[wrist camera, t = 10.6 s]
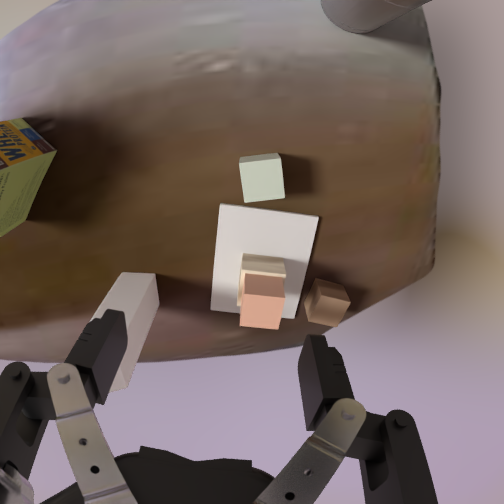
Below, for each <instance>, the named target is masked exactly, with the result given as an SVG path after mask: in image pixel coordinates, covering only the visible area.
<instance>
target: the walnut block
mask: <svg viewBox="0 0 504 504" xmlns="http://www.w3.org/2000/svg"><path fill="white" fill-rule="evenodd" d="M350 303H351V302H350V299H349V297H348V295H347V293H346V291H345V289H344V286H343V285H340V284H337V283H333V282H329V281H326V280H322V279H318V278H315V280H314V282H313V285H312V287H311V289H310V291H309V293H308V295H307V297H306V299H305V302H304V305H305V309H306V313H307V317H308V321H310V322H314V323H319V324H324V325H328V326H333V327H337V326H338V324H339V323H340V321H341V319H342V317H343V316H344V314H345V312H346V310H347V308H348V307H349V305H350Z"/></svg>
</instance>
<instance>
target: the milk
mask: <svg viewBox="0 0 504 504" xmlns="http://www.w3.org/2000/svg"><path fill="white" fill-rule="evenodd" d="M159 304H160V303H159V297H158V290H157V283H156V276H155V274H153V273H130V272H122V273H121V275H120V276H119V278H118V279H117V280H116V282H115V283H114V285H113V286H112V288H111V289H110V291H109V292H108V294H107V295H106V297H105V298H104V300H103V302H102V303H101V305H100V306H99V308H98V309H97V311H96V312H95V314H94V316H93V317H92V319H91V320H90V321H92V320H93V319H94V318H100V319H101V317H102V316H103V314H104V312H105V311H106V310H107V309H113V310H118V311H123V312H124V314H125V321H126V328H127V335H128V345H127V349H126V352H125V354H124V357H123V359H122V361H121V364H120V366H119V368H118V371H117V373H116V376H115V378H114V381H113V383H112V386H111V388H110V391H109V393H110V392H113V391H117V390H121V389H124V388H127V387H128V385H129V382H130V379H131V376H132V373H133V371H134V368H135V365H136V363H137V360H138V357H139V355H140V352H141V350H142V347H143V344H144V342H145V339H146V337H147V334H148V331H149V329H150V326H151V324H152V321H153V319H154V316H155V314H156V311H157V309H158V307H159Z"/></svg>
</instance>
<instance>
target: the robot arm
mask: <svg viewBox="0 0 504 504" xmlns="http://www.w3.org/2000/svg"><path fill="white" fill-rule="evenodd" d="M429 1H432V0H321V5H322V8H323V10H324V12H325V14H326V15H327V17H328V18H329V19H330V20H331V21H332V22H333V23H334V24H336V25H337V26H338V27H340V28H342V29H344V30H346V31H349V32H353V33H367V32H370V31H373V30H375V29H377V28H378V27H380V26H382V25H384V24H386V23H388V22H390V21H392V20H393V19H395V18H397V17H399V16H401V15H403V14H405V13H407V12H409V11H411V10H413V9H415V8H417V7H419V6H421V5H423V4H425V3H427V2H429ZM127 345H128V335H127V328H126V321H125V314H124V312H123V311H118V310H113V309H107V310H106V311H105V312H104V314H103V316H102V317H101V319H100V318H94V319H93V320H92V321H90V322H89V323H88V324H87V325H86V327H85V328H84V330H83V332H82V333H81V335H80V336H79V338H78V340H77V341H76V343H75V345H74V346H73V348H72V350H71V352H70V353H69V355H68V357H67V358H66V360H65V362H64V363H60V364H57V365H55V366H53V367H52V368H51V369H50V370H49V372H31V371H30V369H29V367H28V366H27V365H26V364H25V363H23V362H13V363H10V364H9V365H7V366H6V367H5V369H4V370H3V372H2V373H1V375H0V504H34V499H33V497H34V491H33V487H32V485H31V484H30V482H29V481H28V478H29V476H30V473H31V469H32V466H33V463H34V460H35V457H36V454H37V451H38V448H39V445H40V442H41V440H42V437H43V434H44V432H45V429H46V426H47V424H48V421H49V420H56V424H57V428H58V431H59V434H60V437H61V440H62V443H63V446H64V449H65V452H66V455H67V458H68V460H69V463H70V465H71V468H72V471H73V473H74V476H75V478H76V481H77V482H75V483H74V484H72V485H71V486H69V487H68V488H66V489H64V490H63V491H61V492H59V493H57V494H56V495H54V496H52V497H50V498H49V499H47V500H45V501H43V502H42V503H40V504H313V503H314V502H315V501H316V499H317V498H318V496H319V495H320V494H321V492H322V491H323V489H324V488H325V486H326V485H327V483H328V482H329V481H330V479H331V478H332V476H333V475H334V473H335V472H336V470H337V469H338V467H339V465H340V464H341V462H342V461H343V459H344V457H345V456H346V457H351V458H356V459H359V462H360V469H361V475H362V481H363V489H364V496H365V503H366V504H438V501H437V497H436V493H435V489H434V485H433V481H432V477H431V474H430V470H429V466H428V463H427V460H426V456H425V453H424V449H423V446H422V443H421V440H420V436H419V433H418V430H417V427H416V424H415V421H414V419H413V417H412V416H411V415H410V414H409V413H407V412H405V411H403V410H392V411H390V412H389V413H388V414H387V415H386V416H383V415H378V414H373V413H369V412H367V411H366V410H365V408H364V407H363V405H362V404H361V403H359V402H358V401H356V400H355V398H354V395H353V392H352V389H351V385H350V382H349V378H348V375H347V373H346V368H345V366H344V362H343V359H342V356H341V354H340V353H339V352H338V351H337V349H336V348H335V347H328V344H327V341H326V338H325V336H324V335H311V334H308V335H307V336H306V339H305V342H304V345H303V348H302V351H301V354H300V357H299V361H298V375H299V382H300V388H301V395H302V402H303V409H304V416H305V423H306V430H307V431H315V432H314V433H313V434H312V436H311V437H309V438H308V439H307V440H306V442H305V443H304V444H303V445H302V447H301V448H300V449H299V450H298V451H297V453H296V454H295V455H294V456H293V458H292V459H291V460H290V461H289V463H288V464H287V465H286V466H285V467H284V468H283V470H282V471H281V472H280V473H279V474H278V475H277V477H276V478H274V477H273V476H272V475H270V474H268V473H266V472H264V471H262V470H260V469H257V468H254V467H252V460H238V459H226V458H223V459H214V460H205V461H192V460H189V459H187V458H184V457H181V456H179V455H176V454H174V453H171V452H169V451H166V450H160V449H155V448H150V447H145V446H140V451H139V452H133V453H127V454H123V455H120V456H117V457H115V458H114V456H113V454H112V452H111V450H110V448H109V446H108V443H107V441H106V439H105V437H104V435H103V432H102V430H101V428H100V426H99V423H98V421H97V418H96V416H95V413H94V411H93V408H94V406H95V403H98V404H102V405H104V404H105V401H106V398H107V396H108V393H109V391H110V388H111V386H112V383H113V381H114V378H115V376H116V373H117V371H118V368H119V366H120V364H121V361H122V359H123V357H124V354H125V352H126V349H127Z"/></svg>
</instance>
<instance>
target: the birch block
mask: <svg viewBox="0 0 504 504" xmlns="http://www.w3.org/2000/svg"><path fill="white" fill-rule="evenodd" d="M245 273H248V274H257V275H266V276H275V277H282V281H283V287H284V283H285V278H286V271H285V266H284V261H283V258H280V257H272V256H264V255H255V254H247V253H243V254H242V261H241V269H240V276H239V283H238V295H237V306H241V298H242V291H243V284H244V277H245Z"/></svg>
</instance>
